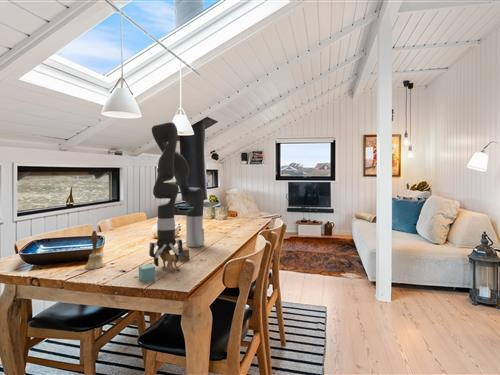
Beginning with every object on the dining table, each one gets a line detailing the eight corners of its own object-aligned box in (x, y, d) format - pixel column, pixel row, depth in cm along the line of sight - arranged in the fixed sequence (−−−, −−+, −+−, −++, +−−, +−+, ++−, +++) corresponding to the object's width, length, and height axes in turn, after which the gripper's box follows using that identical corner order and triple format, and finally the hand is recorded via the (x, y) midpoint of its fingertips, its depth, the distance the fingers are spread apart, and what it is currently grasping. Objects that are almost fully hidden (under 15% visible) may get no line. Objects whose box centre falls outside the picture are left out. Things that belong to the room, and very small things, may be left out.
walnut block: (185, 257, 155) (185, 247, 155) (189, 259, 151) (189, 249, 150) (175, 258, 152) (175, 248, 152) (179, 261, 148) (179, 251, 148)
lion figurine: (154, 266, 139) (154, 246, 139) (164, 264, 143) (164, 244, 143) (174, 273, 130) (174, 252, 130) (184, 270, 134) (184, 250, 134)
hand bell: (81, 266, 139) (80, 231, 138) (100, 262, 145) (99, 228, 144) (89, 270, 133) (88, 233, 132) (108, 266, 139) (108, 231, 138)
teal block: (151, 275, 128) (151, 263, 127) (155, 279, 123) (155, 267, 123) (138, 278, 125) (138, 265, 125) (142, 281, 121) (142, 269, 120)
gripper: (178, 225, 144) (178, 259, 145) (147, 228, 136) (147, 264, 137) (184, 227, 138) (184, 263, 138) (152, 231, 130) (152, 269, 131)
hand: (166, 264), depth 138 cm, fingers open, 8 cm apart
